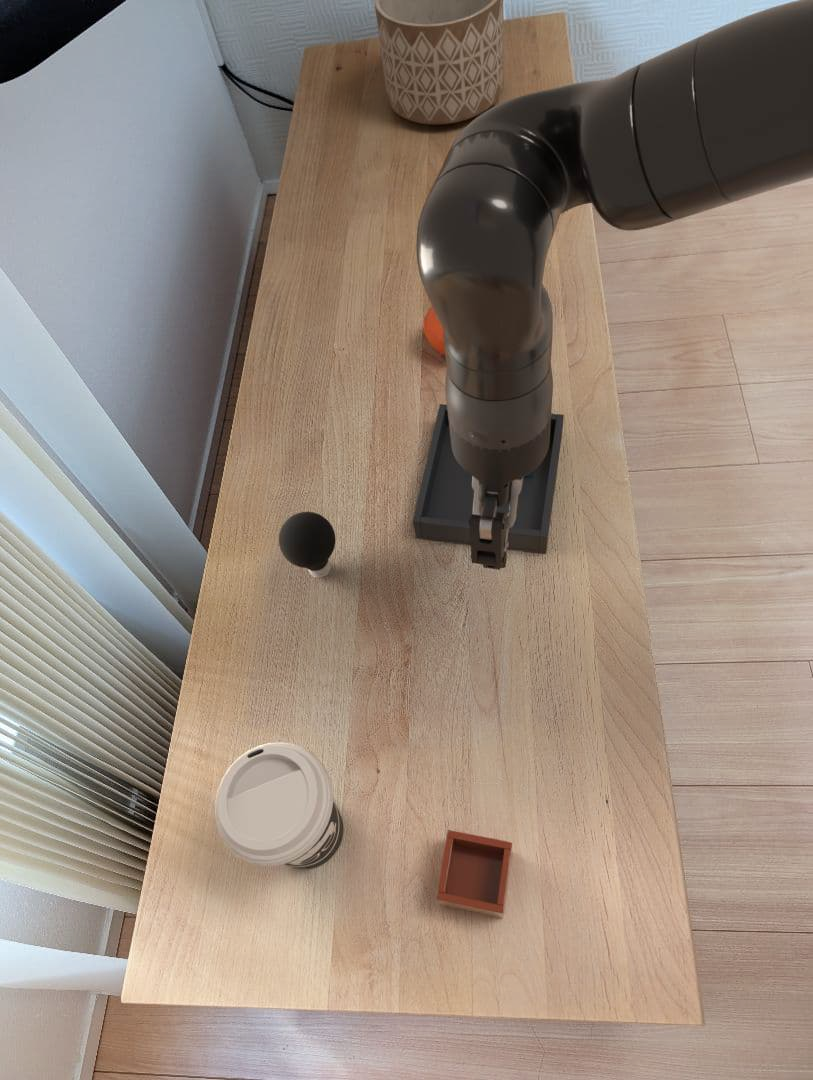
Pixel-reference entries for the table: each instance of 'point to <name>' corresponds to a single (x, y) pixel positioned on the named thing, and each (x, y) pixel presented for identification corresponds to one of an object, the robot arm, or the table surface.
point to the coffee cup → (279, 808)
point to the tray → (452, 494)
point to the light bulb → (308, 542)
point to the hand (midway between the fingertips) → (501, 522)
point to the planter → (441, 57)
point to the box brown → (475, 873)
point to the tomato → (434, 331)
